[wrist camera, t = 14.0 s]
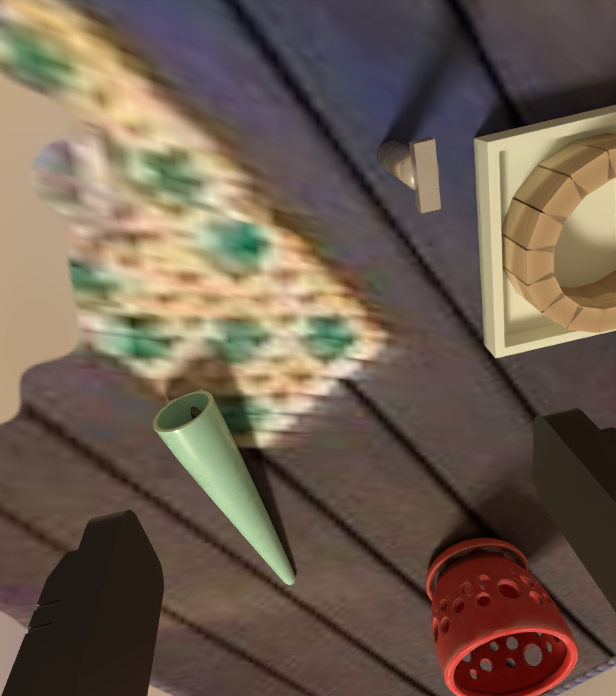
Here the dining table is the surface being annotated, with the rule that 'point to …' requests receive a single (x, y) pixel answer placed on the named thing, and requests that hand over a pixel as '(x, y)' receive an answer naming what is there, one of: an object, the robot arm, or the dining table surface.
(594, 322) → the wooden ring
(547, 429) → the robot arm
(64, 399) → the dining table surface
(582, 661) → the dining table surface
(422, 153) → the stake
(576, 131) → the tray
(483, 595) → the plant pot
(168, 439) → the mint green cone
